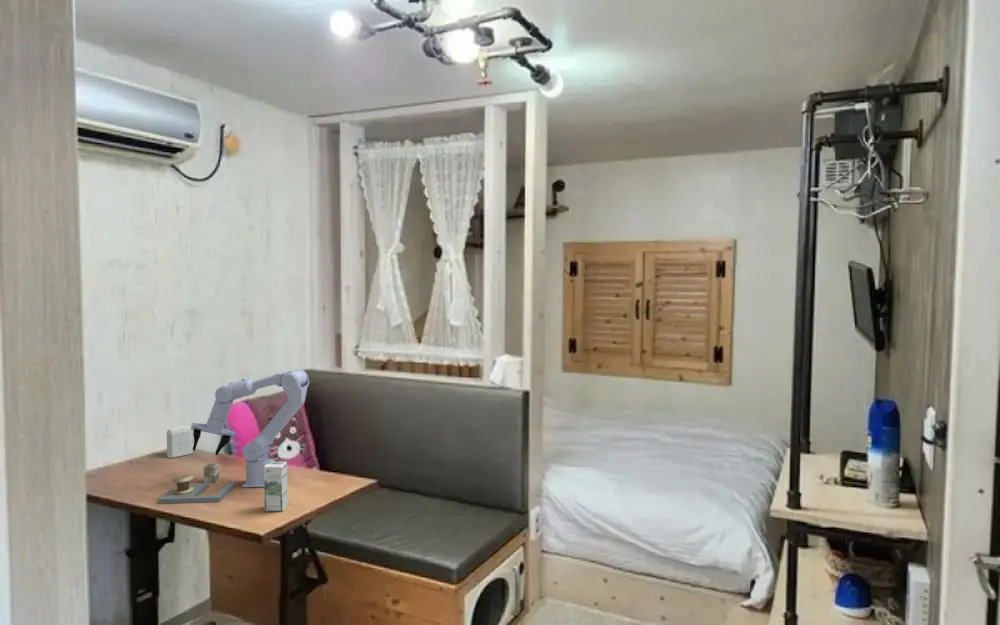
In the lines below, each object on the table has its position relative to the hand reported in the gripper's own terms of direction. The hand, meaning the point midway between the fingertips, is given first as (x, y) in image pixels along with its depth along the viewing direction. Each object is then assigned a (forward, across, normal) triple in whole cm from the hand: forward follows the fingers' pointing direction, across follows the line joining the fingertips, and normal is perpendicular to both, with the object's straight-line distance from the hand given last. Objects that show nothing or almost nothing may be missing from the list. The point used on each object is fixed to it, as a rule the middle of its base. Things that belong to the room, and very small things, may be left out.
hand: (205, 451), depth 230 cm
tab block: (+10, -5, +2) cm, 11 cm away
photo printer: (+22, +3, -40) cm, 46 cm away
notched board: (+8, -1, +15) cm, 18 cm away
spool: (+9, +4, +14) cm, 17 cm away
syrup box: (-3, -21, +39) cm, 45 cm away
